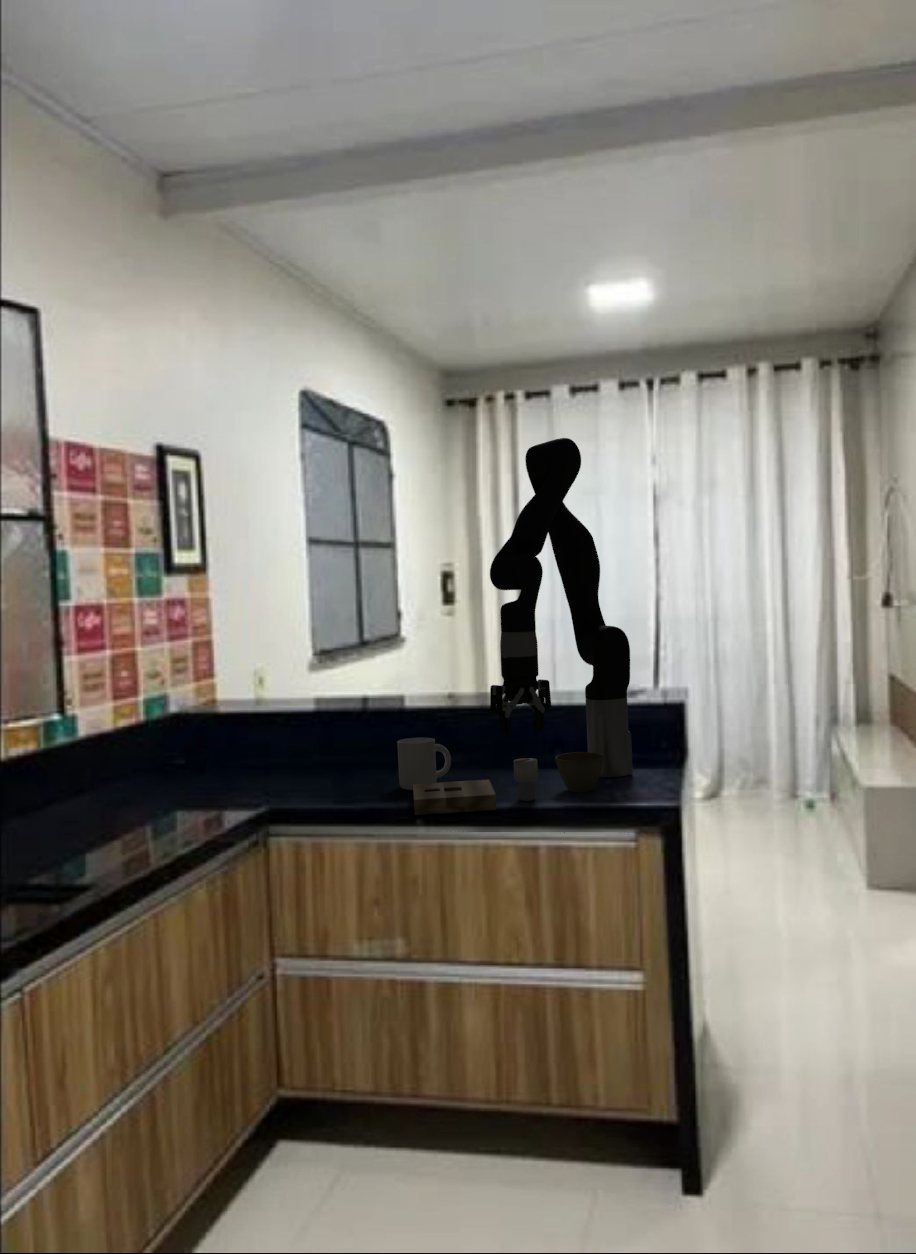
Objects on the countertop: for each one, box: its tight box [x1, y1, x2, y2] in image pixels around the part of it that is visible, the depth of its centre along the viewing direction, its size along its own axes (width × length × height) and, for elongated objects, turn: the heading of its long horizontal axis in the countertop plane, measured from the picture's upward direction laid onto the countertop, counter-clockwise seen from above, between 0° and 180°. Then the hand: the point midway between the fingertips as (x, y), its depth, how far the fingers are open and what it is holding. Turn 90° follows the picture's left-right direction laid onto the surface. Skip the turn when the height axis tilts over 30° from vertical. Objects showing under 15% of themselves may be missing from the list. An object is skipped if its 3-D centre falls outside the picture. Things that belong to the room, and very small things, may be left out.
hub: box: [412, 779, 497, 816], centre depth 222 cm, size 16×16×3 cm
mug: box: [396, 737, 452, 791], centre depth 242 cm, size 12×8×10 cm
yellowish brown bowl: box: [555, 751, 603, 793], centre depth 229 cm, size 10×10×7 cm
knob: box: [513, 757, 539, 802], centre depth 223 cm, size 5×5×8 cm
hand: (522, 733), depth 222 cm, fingers open, 8 cm apart
